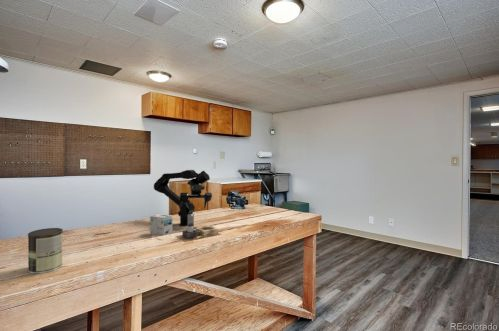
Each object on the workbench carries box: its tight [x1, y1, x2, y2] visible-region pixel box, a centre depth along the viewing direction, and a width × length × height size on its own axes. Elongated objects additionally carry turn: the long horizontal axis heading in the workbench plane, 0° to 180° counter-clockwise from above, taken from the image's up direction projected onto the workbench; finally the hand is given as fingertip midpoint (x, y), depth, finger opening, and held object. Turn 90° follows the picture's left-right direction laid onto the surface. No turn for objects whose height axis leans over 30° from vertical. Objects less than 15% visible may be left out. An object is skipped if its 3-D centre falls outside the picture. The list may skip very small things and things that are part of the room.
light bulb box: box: [149, 213, 173, 236], centre depth 142 cm, size 11×7×11 cm, turn 65°
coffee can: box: [27, 227, 64, 275], centre depth 97 cm, size 10×10×14 cm
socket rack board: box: [174, 225, 223, 243], centre depth 138 cm, size 22×12×4 cm, turn 130°
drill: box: [186, 213, 195, 233], centre depth 135 cm, size 3×3×12 cm
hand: (197, 208), depth 150 cm, fingers open, 9 cm apart
